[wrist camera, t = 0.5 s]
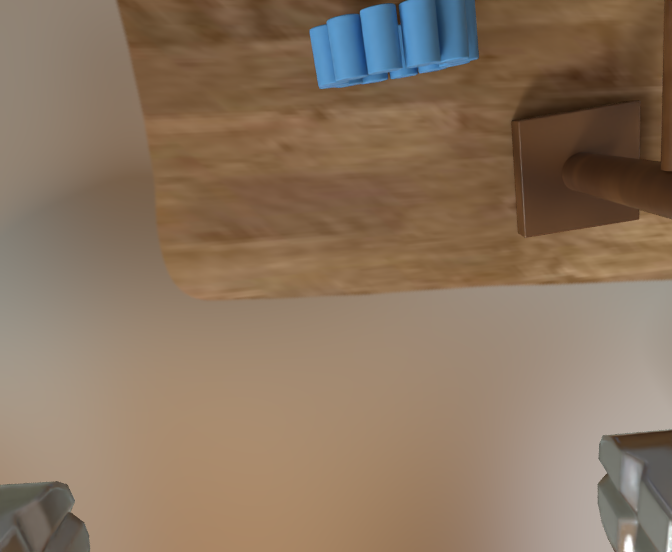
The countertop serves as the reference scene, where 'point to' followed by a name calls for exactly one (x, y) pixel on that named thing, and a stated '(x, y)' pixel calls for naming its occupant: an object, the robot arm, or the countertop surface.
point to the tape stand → (592, 163)
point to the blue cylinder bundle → (394, 41)
